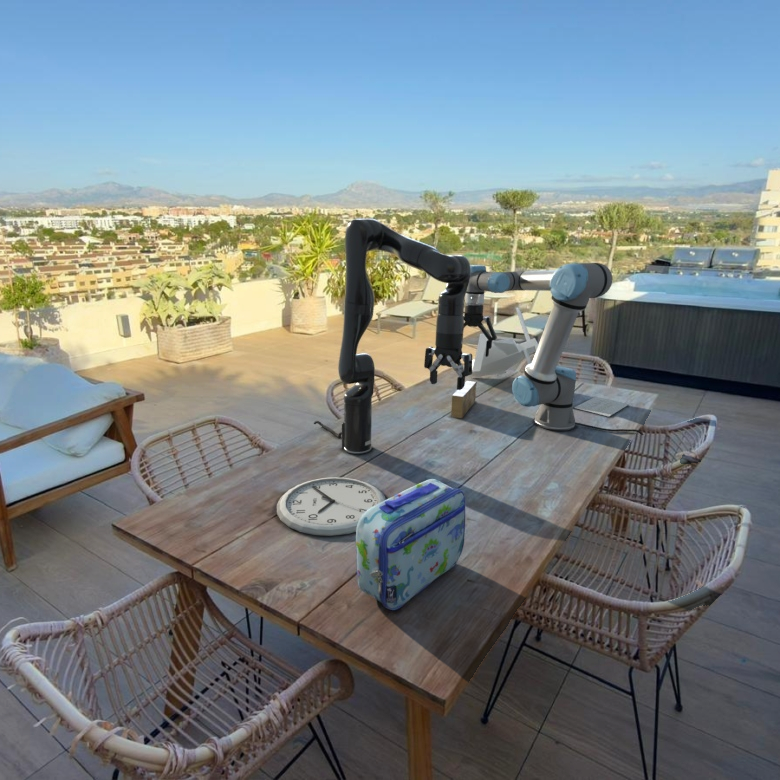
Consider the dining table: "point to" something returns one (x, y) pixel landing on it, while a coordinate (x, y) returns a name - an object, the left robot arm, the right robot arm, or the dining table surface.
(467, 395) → the bar
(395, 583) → the lunch box
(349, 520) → the wall clock
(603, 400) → the thin gray rectangular panel
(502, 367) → the white plastic object
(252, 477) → the dining table surface
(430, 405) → the dining table surface
